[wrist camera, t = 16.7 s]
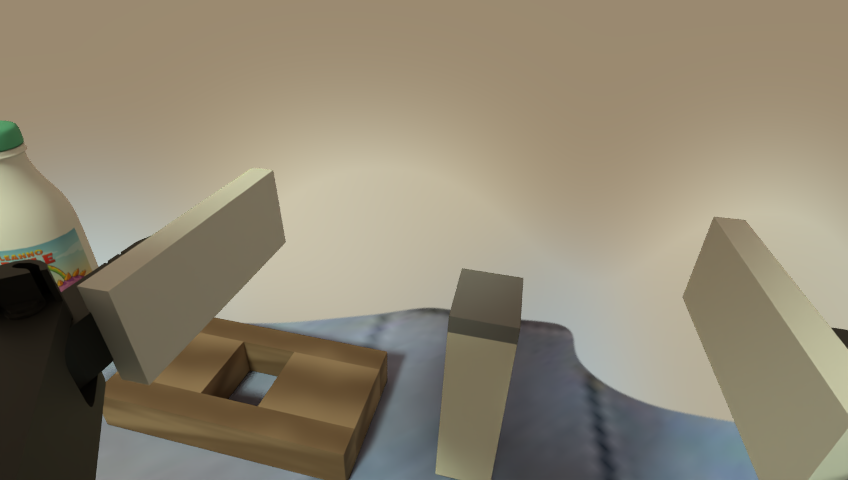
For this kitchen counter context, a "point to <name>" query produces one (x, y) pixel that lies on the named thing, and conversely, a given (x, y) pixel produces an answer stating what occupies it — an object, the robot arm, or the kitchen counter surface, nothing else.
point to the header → (279, 409)
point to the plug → (477, 372)
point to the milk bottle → (38, 216)
